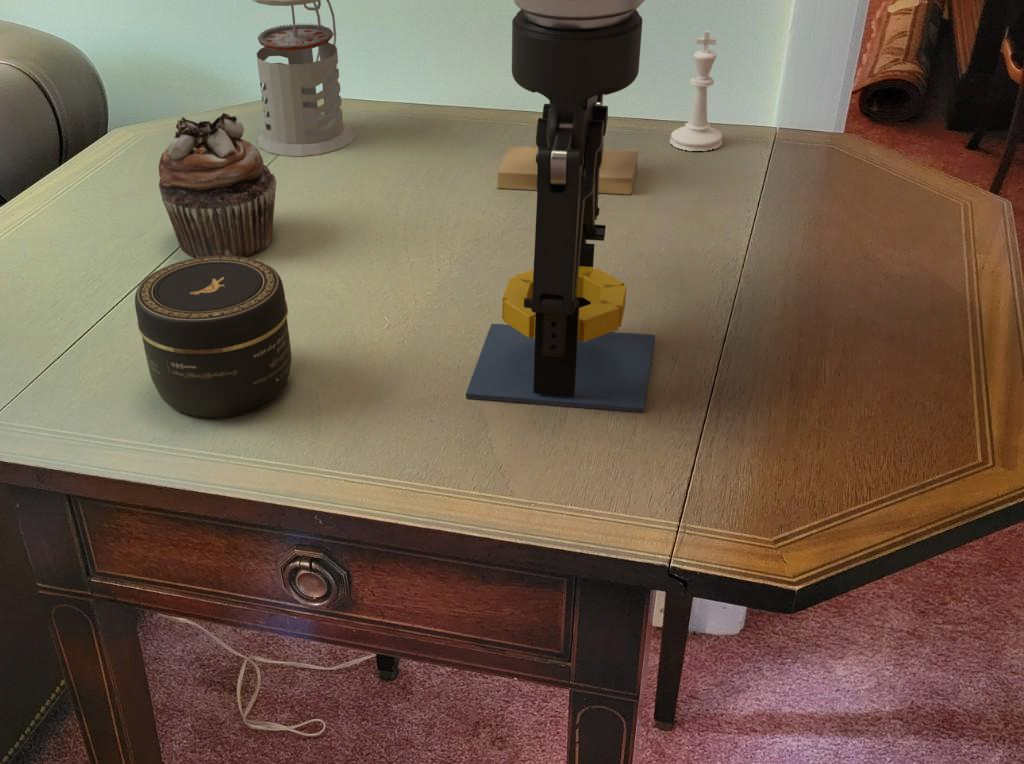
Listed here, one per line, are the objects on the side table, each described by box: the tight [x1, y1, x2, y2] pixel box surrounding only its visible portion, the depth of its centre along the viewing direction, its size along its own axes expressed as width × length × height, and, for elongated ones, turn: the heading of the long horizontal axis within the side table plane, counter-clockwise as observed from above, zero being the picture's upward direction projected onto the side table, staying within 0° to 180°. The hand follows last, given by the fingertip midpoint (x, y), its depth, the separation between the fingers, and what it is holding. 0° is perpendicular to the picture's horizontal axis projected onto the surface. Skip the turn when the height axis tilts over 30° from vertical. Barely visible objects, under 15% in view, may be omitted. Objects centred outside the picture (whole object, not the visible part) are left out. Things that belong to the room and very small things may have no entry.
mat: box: [465, 323, 656, 413], centre depth 85 cm, size 12×10×1 cm
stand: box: [496, 115, 639, 195], centre depth 107 cm, size 12×6×12 cm, turn 78°
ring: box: [501, 266, 627, 343], centre depth 82 cm, size 8×8×2 cm
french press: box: [252, 0, 356, 157], centre depth 114 cm, size 10×12×25 cm
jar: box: [134, 256, 292, 419], centre depth 83 cm, size 10×10×8 cm
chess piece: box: [669, 30, 723, 152], centre depth 113 cm, size 5×5×10 cm
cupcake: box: [158, 112, 277, 258], centre depth 100 cm, size 10×10×10 cm
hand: (562, 359), depth 85 cm, fingers closed on ring, 8 cm apart
